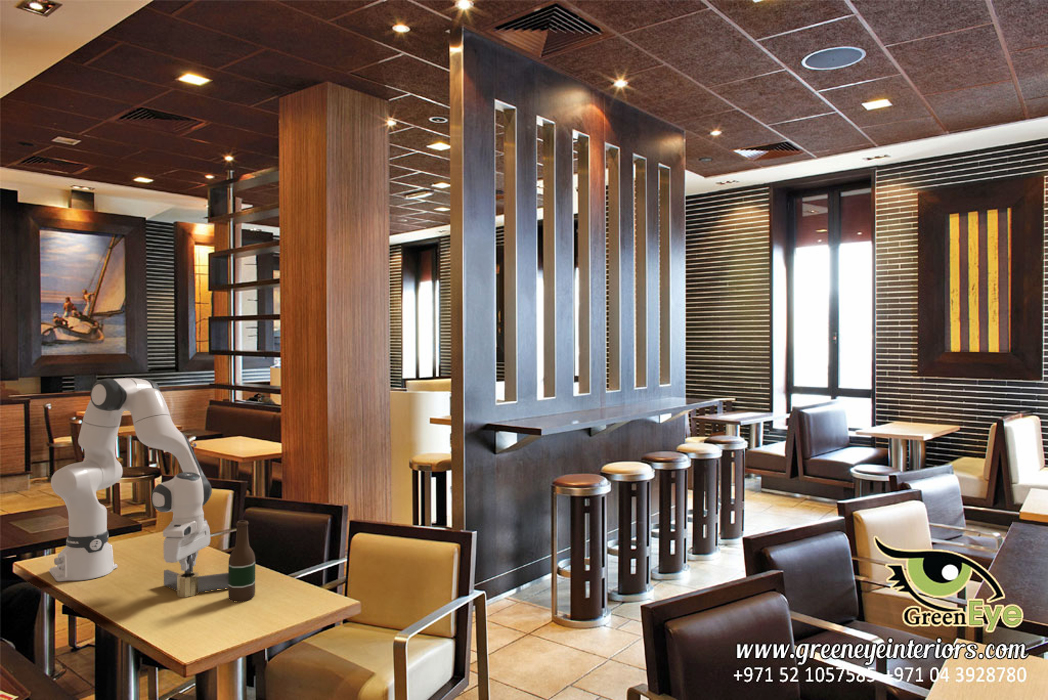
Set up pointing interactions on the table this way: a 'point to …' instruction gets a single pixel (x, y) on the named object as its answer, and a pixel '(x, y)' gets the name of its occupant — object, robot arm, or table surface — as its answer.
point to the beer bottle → (241, 566)
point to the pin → (190, 562)
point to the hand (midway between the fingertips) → (188, 568)
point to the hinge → (194, 582)
